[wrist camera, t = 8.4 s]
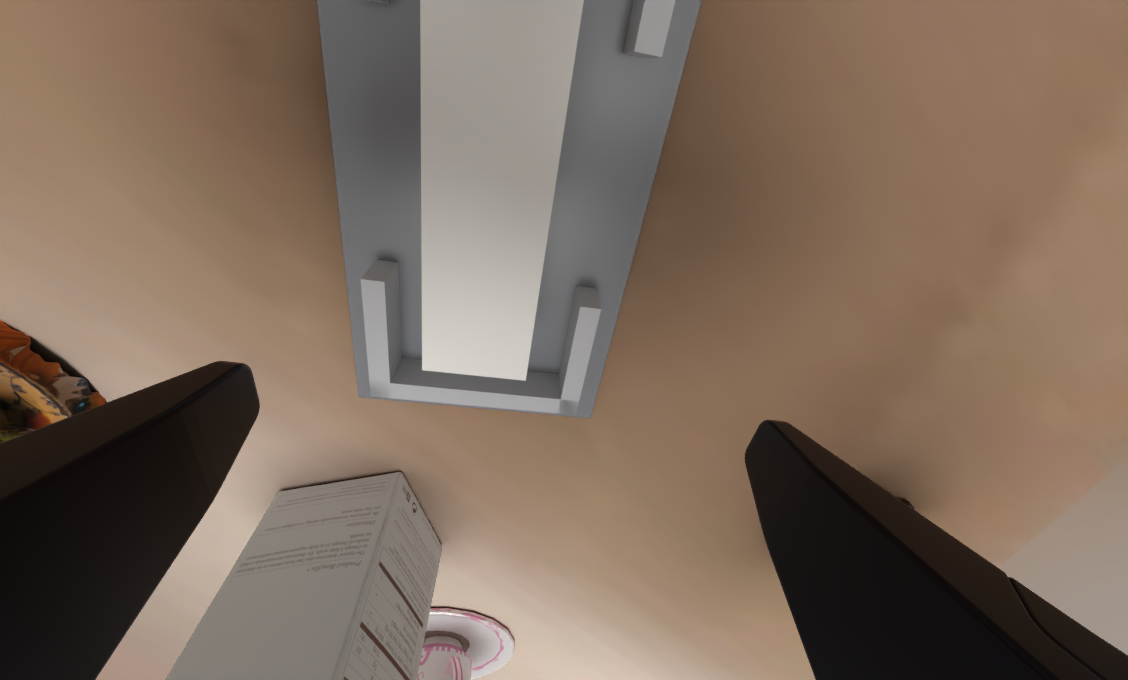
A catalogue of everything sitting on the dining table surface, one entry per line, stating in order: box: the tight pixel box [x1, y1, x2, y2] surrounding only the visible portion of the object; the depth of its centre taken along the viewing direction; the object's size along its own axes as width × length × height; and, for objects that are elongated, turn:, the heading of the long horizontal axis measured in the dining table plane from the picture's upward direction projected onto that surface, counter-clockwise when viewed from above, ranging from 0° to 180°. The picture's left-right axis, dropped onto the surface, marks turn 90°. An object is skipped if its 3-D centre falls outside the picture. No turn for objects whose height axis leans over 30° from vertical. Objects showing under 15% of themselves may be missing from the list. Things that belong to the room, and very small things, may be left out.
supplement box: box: [165, 472, 442, 680], centre depth 20 cm, size 7×7×13 cm
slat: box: [420, 0, 584, 381], centre depth 13 cm, size 4×12×4 cm, turn 170°
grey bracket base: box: [317, 0, 702, 418], centre depth 15 cm, size 11×22×2 cm, turn 170°
